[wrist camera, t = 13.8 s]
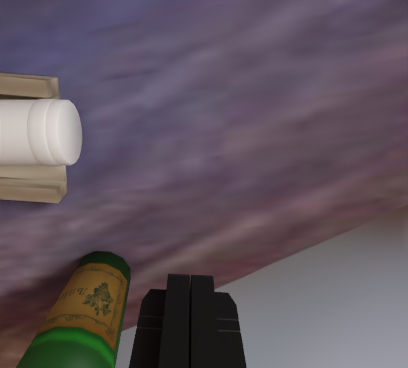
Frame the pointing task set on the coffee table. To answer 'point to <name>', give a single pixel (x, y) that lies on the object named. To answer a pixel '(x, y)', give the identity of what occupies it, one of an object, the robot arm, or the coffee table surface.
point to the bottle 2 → (84, 318)
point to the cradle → (31, 174)
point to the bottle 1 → (39, 132)
